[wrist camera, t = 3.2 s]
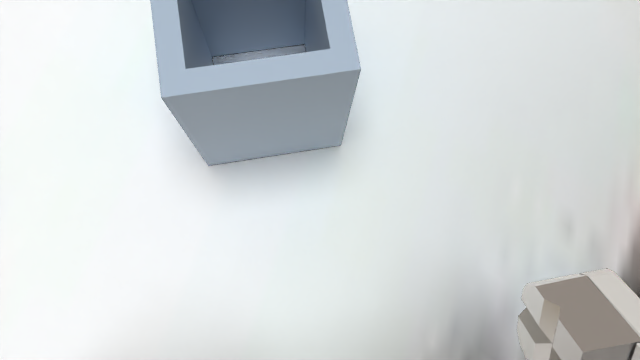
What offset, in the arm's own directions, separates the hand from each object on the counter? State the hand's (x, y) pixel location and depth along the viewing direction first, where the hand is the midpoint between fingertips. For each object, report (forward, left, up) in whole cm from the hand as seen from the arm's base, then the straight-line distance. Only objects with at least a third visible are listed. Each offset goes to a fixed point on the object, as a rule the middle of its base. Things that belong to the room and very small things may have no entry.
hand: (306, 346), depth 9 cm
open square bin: (-10, -7, -13) cm, 17 cm away
